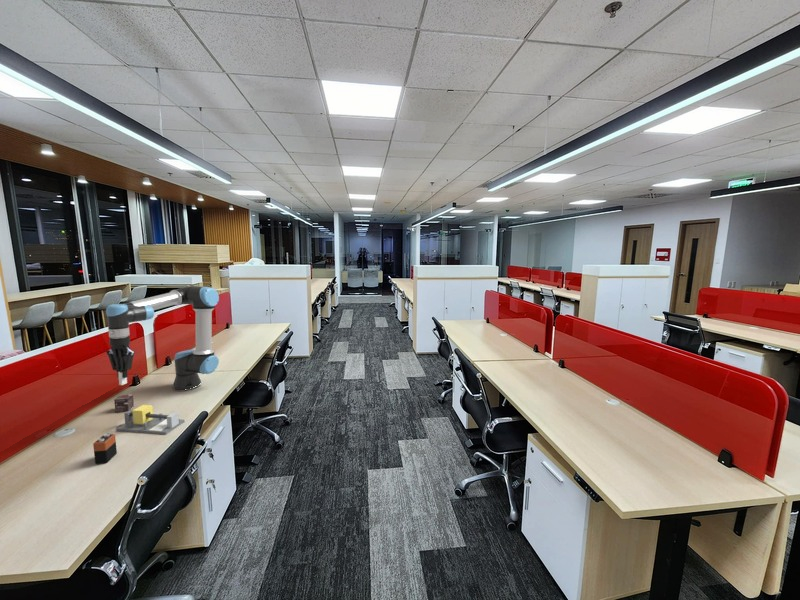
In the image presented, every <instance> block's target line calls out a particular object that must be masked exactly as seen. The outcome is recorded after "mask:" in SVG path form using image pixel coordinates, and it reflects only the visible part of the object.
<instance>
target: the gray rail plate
mask: <svg viewBox="0 0 800 600" xmlns="http://www.w3.org/2000/svg"><path fill="white" fill-rule="evenodd" d="M133 410H134V409H130V410H129V411H127V412H123V413H124V416H123V417H124V424H123V425H120V426H119V427H116V431H117V432H124V433H126V432H127V433H139V434H140V433H141V434H152V435H153V434H154V435H164V436H165V435H166V436H167V435H168V434H169V433H171V432H172V431H174V430H175V429H177V428H178V427H179V426H181V425H182V424H184V423H185V419H179V413H178V412H172V413H170V414H163V413H153V414H145V415H146V417H147V418H153V419H152V420H150V421H148V422H147V423H143V424H134V422H133Z"/></svg>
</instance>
